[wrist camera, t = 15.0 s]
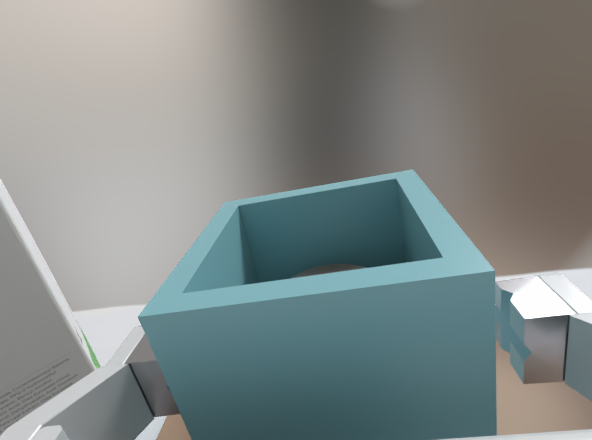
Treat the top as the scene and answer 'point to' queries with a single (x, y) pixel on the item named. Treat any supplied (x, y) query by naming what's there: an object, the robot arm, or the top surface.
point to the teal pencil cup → (330, 319)
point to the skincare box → (33, 325)
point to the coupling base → (509, 396)
